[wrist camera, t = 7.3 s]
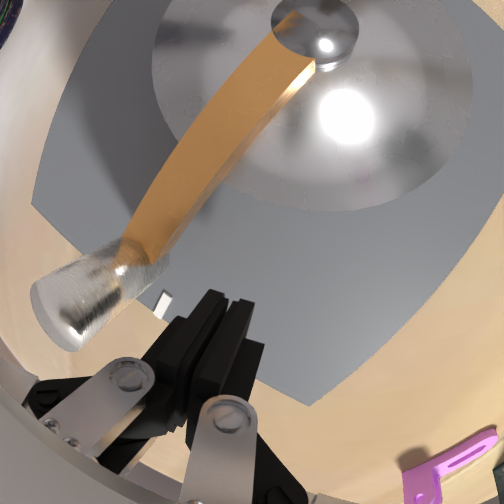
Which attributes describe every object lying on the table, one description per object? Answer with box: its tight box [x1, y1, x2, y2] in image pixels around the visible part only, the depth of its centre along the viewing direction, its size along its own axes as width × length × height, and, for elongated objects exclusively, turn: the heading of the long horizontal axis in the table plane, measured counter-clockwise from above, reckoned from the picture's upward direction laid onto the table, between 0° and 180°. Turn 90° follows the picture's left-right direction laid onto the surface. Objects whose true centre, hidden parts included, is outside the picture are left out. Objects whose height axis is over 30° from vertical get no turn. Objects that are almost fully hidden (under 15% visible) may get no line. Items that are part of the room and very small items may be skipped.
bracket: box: [402, 429, 498, 504], centre depth 17 cm, size 13×6×7 cm, turn 133°
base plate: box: [31, 0, 504, 406], centre depth 12 cm, size 28×26×2 cm
